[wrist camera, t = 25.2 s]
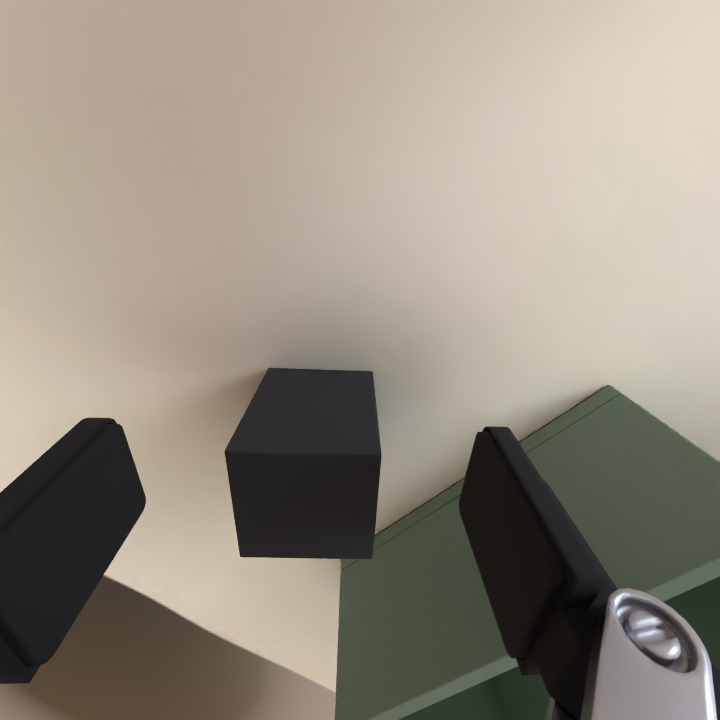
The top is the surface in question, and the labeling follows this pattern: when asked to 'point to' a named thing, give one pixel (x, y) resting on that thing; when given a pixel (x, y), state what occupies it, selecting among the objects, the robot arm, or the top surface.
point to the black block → (307, 466)
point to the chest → (466, 589)
